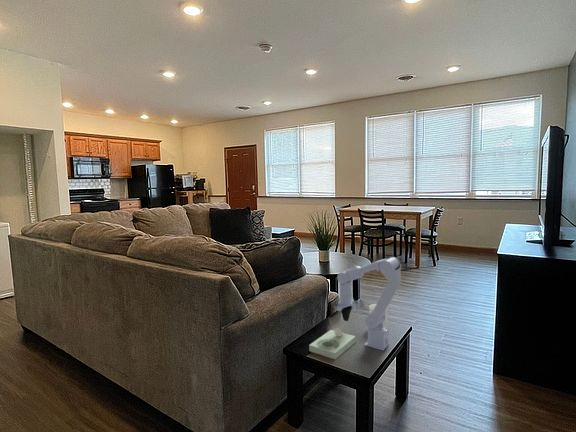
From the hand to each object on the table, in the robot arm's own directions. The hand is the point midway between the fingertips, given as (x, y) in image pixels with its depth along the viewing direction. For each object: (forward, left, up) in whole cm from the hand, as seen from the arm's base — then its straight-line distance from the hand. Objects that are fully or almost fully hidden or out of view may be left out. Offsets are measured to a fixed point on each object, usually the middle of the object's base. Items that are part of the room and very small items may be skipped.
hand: (346, 320), depth 174 cm
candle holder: (-10, -17, -9) cm, 22 cm away
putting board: (0, +14, -8) cm, 16 cm away
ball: (0, +8, -3) cm, 9 cm away
